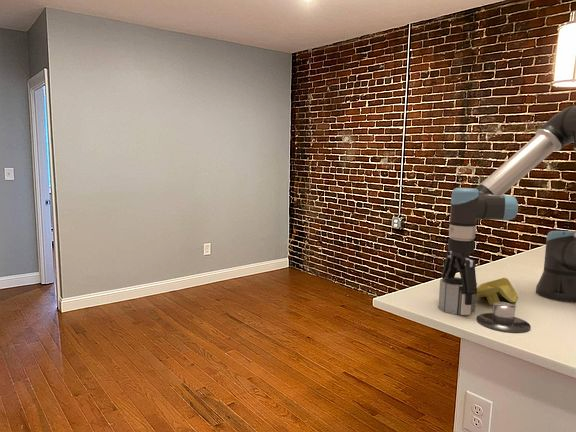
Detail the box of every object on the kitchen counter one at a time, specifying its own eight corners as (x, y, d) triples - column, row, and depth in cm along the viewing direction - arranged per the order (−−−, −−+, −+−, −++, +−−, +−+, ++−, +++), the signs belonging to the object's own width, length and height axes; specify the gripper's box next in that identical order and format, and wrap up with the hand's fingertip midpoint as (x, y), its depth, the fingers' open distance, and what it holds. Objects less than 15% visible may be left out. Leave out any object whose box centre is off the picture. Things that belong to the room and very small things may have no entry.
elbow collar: (463, 303, 142) (465, 277, 141) (480, 314, 132) (482, 286, 131) (434, 304, 141) (435, 277, 140) (448, 315, 131) (450, 286, 130)
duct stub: (511, 314, 133) (512, 296, 133) (541, 332, 119) (543, 313, 119) (467, 315, 132) (468, 297, 131) (493, 333, 118) (494, 314, 117)
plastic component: (481, 283, 158) (509, 276, 153) (489, 303, 157) (518, 296, 152) (470, 293, 141) (502, 285, 136) (479, 315, 140) (512, 307, 135)
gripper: (433, 232, 145) (429, 296, 148) (468, 246, 122) (463, 321, 125) (455, 232, 146) (450, 296, 149) (494, 246, 123) (488, 321, 126)
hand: (456, 307), depth 137 cm, fingers open, 11 cm apart
